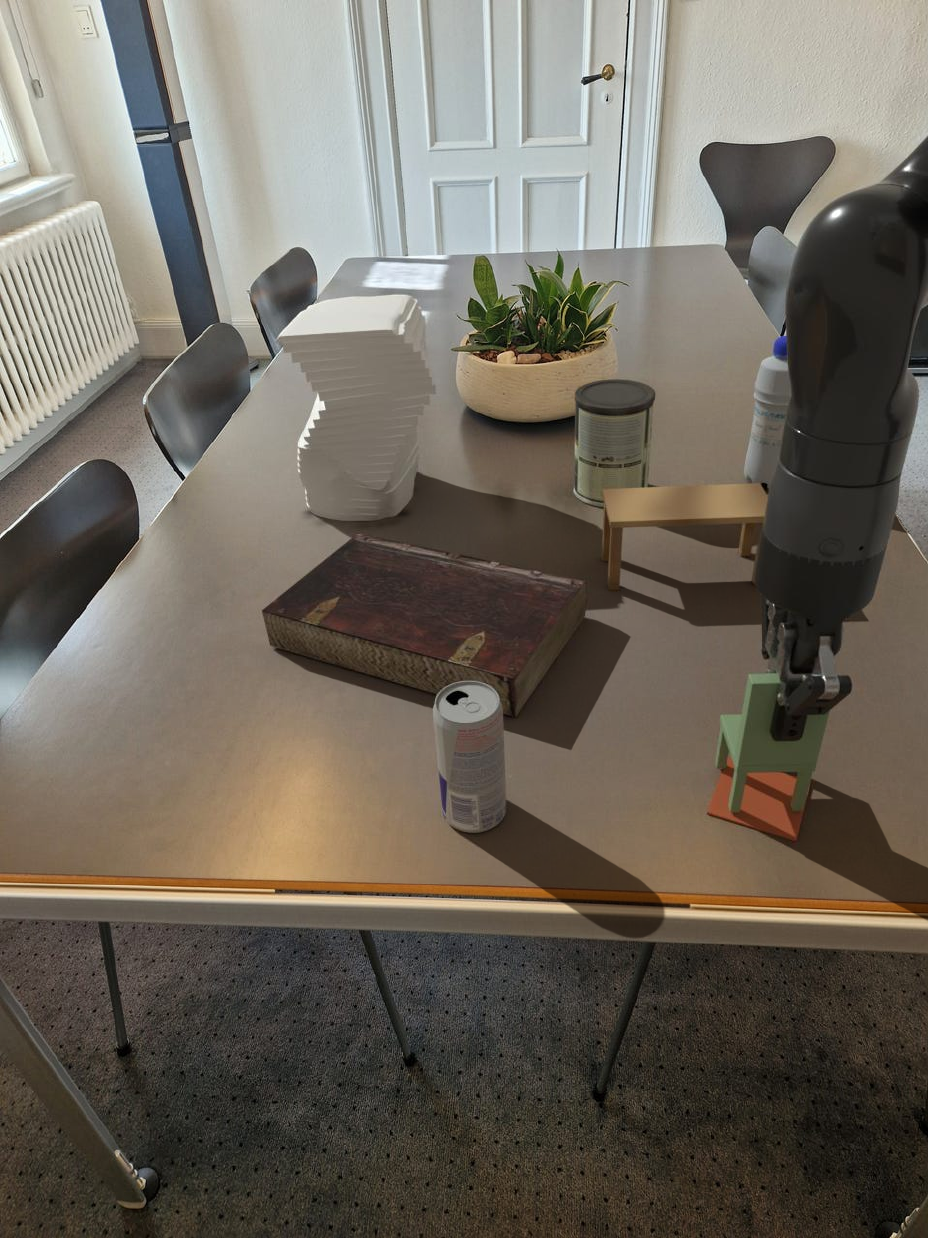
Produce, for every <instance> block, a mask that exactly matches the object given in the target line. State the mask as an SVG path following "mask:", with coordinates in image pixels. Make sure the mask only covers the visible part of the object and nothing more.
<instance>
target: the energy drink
mask: <svg viewBox="0 0 928 1238" xmlns="http://www.w3.org/2000/svg"><path fill="white" fill-rule="evenodd" d="M432 718H433V729H434V738H435V749H436V758H437V769H438V778H439V779H438V780H439V788H440V797H441V799H440V800H441V809H442V814H443V817H444V819H445V821H446V822H447V823H448V824H449V826H451V827H453V828H454V829H456V830H458V831H460V832H464V833H469V834H476V833H477V834H478V833H483V832H487V831H489V830H491V829H493V828H494V827H496V826H497V825H499V824H500V823H501V821H502V820H503V819H504V817H505V815H506V812H507V787H506V786H507V785H506V783H507V782H506V761H505V760H506V758H505V732H504V714H503V707H502V703H501V701H500V699H499V696H498V694H497V692H496V691H495V690H494V689H493V688H492V687H491V686H489V685H487V684H485V683H482V682H478V681H460V682H456V683H453V684H450V685H448V686H446V687H445V688H443V689H442V690H441V691H440V692H439V693H438V694H436V696H435V700H434V704H433V707H432Z"/></svg>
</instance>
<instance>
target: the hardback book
mask: <svg viewBox="0 0 928 1238" xmlns="http://www.w3.org/2000/svg"><path fill="white" fill-rule="evenodd" d="M587 590H588V589H587V581H585V580H580V579H576V578H572V577H566V576H562V575H557V574H554V573H548V572H545V571H539V570H534V569H530V568H525V567H520V566H515V565H511V564H506V563H501V562H497V561H492V560H487V559H482V558H478V557H473V556H468V555H465V554H459V553H456V552H455V553H454V552H450V551H445V550H441V549H436V548H431V547H427V546H422V545H417V544H413V543H408V542H404V541H403V542H402V541H399V540H394V539H389V538H384V537H379V536H375V535H371V534H365V533H362V532H357V533H356V534H355V535H353V536H352V537H351V538H350V539H348V540H347V541H346V542H345V543H344V544H342V545H341V546H339V547H338V548H337V549H336V550H335V551H333V553H331V554H330V555H329V556H327V557H326V558H325V559H324V560H323V561H321V562H319V564H318V565H316V566H314V568H312V569H311V570H310V571H308V573H307V574H305V575H304V576H302V577H301V578H300V579H299V580H298V581H296V582H295V583H294V584H292V586H290V587H289V588H288V589H286V590H285V591H284V592H282V593H281V594H280V595H278V596H277V597H276V598H275V599H274V600H273V601H271V602H270V603H268V605H267V606H265V607H264V608H263V609H262V610H261V613H262V618H263V621H264V626H265V630H266V634H267V638H268V639H267V640H268V643H269V646H270V647H273V648H277V649H281V650H283V651H287V652H291V653H295V654H298V655H301V656H303V657H308V658H311V659H315V660H318V661H322V662H325V663H328V664H331V665H335V666H338V667H342V668H346V669H349V670H352V671H356V672H359V673H363V674H365V675H370V676H373V677H376V678H380V679H383V680H386V681H390V682H394V683H397V684H401V685H404V686H407V687H411V688H414V689H418V690H421V691H424V692H428V693H432V694H435V695H437V694H438V693H439V692H440V691H441V690H442V689H443V688H445V687H446V686H448V685H450V684H453V683H456V682H460V681H478V682H482V683H485V684H487V685H489V686H491V687H492V688H493V689H494V690H495V691H496V692H497V694H498V696H499V699H500V701H501V703H502V707H503V715H507V716H511V717H513V718H516V717H517V716H518V714H520V711H521V710H522V709H523V707H524V706H525V704H526V703H527V702H528V700H529V699H530V697H531V696H532V694H533V693H534V692H535V690H536V689H537V687H539V686H538V685H539V684H540V683H541V681H542V680H543V678H544V677H545V675H546V674H547V673H548V671H549V670H550V668H551V667H552V665H553V664H554V662H555V661H556V659H557V658H558V656H559V655H560V654H561V653H562V651H563V649H564V648H565V646H566V645H567V644H568V642H570V641H569V640H570V639H571V637H572V636H574V634H575V632H576V630H577V629H578V628H579V626H580V625H581V623H582V622H583V620H584V619H585V618H586V611H587Z"/></svg>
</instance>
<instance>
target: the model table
mask: <svg viewBox="0 0 928 1238" xmlns="http://www.w3.org/2000/svg"><path fill="white" fill-rule="evenodd" d="M602 495H603V499H604V507H603V516H602V517H603V518H602V520H603V521H602V539H601V540H602V541H601V560H602V562H608V571H607V588H608V590H609V591H620V585H621V567H622V551H623V550H622V548H623V532H624V528H625V529H626V528H649V527H652V528H653V527H678V526H679V527H681V526H704V525H705V526H707V525H708V526H709V525H710V526H711V525H731V524H733V525H734V524H735V525H739V524H741V531H740V532H741V533H740V538H739V544H738V554H739V557H751V556H752V549H753V544H754V536H755V530H756V525H757V524H760V525H759V532H758V538H757V545H756V551H755V555H754V556H755V557H754V563H753V569H752V576H751V582H752V584H753V586H756V584H755V569H756V564H757V558H758V552H759V546H760V540H761V534H762V528H763V522H764V516H765V510H766V504H767V498H768V493H766V491H765V489H764V487H763V486H762V484H760V483H728V484H703V485H702V484H700V485H677V486H676V485H675V486H653V487H651V486H650V487H649V486H648V487H646V488H620V489H603V494H602Z"/></svg>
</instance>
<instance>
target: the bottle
mask: <svg viewBox="0 0 928 1238" xmlns="http://www.w3.org/2000/svg"><path fill="white" fill-rule="evenodd" d="M773 343H774V344H773V348H772V356H768V357H766V358H764V359H762V361H761V363H760V367H759V370H758V372H757V377H756V379H755V383H754V392H753V397H754V399H755V402H754V403H755V404H754V410H753V417H752V424H751V431H750V436H749V437H750V438H749V443H748V447H747V450H746V456H745V461H744V471H743V472H744V473H743V474H744V479H745V481H746V482H747V484H750V483H760V484H761V485H762V484H766V485H767V486H766V487H767V490H768V491H769V488H770V485H771V481H772V478H773V475H774V472H775V469H776V466H777V462H778V458H779V452H780V446H781V441H782V435H783V429H784V423H785V417H786V412H787V407H788V403H789V399H790V395H791V386H790V379H789V371H788V362H787V340H786V335H781V336H779V337H777V339H775V341H774V342H773Z"/></svg>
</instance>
